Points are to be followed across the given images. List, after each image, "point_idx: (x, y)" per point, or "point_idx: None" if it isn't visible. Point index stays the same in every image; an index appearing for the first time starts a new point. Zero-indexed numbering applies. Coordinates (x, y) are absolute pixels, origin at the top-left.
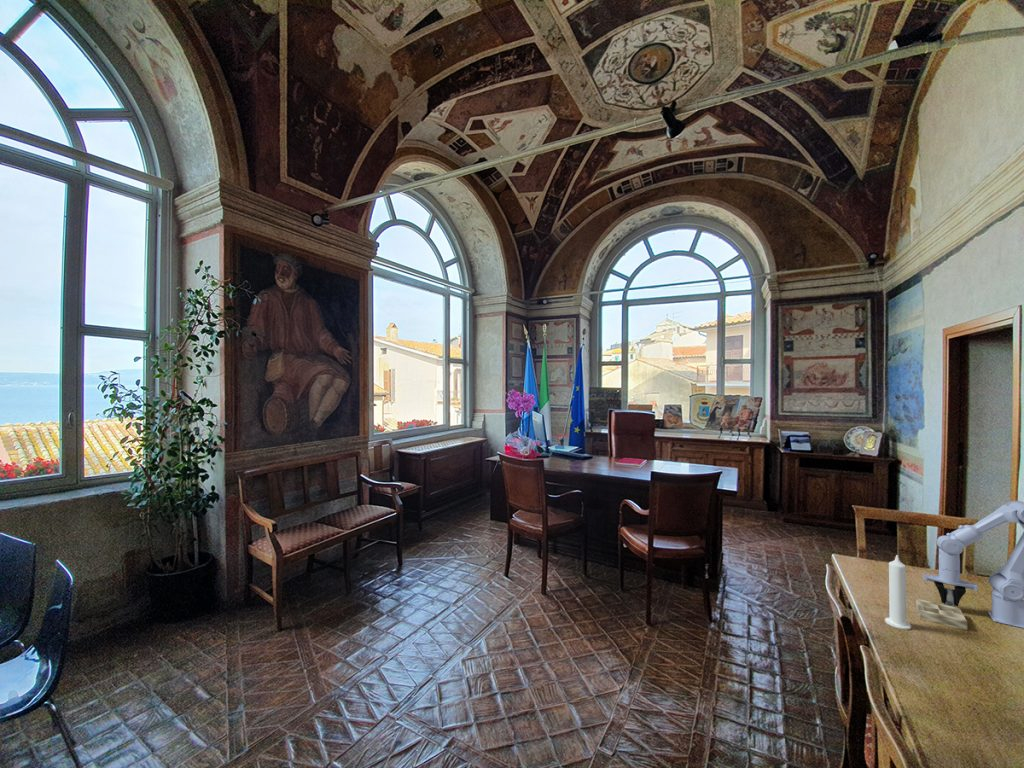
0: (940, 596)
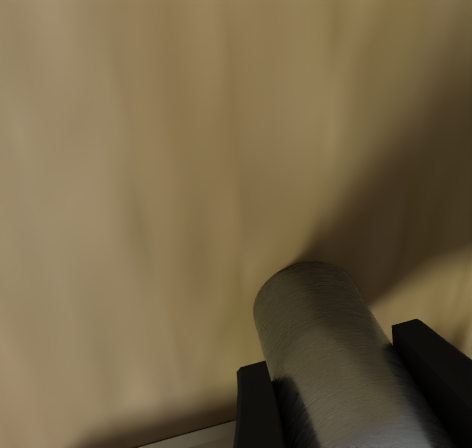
0: (238, 434)
